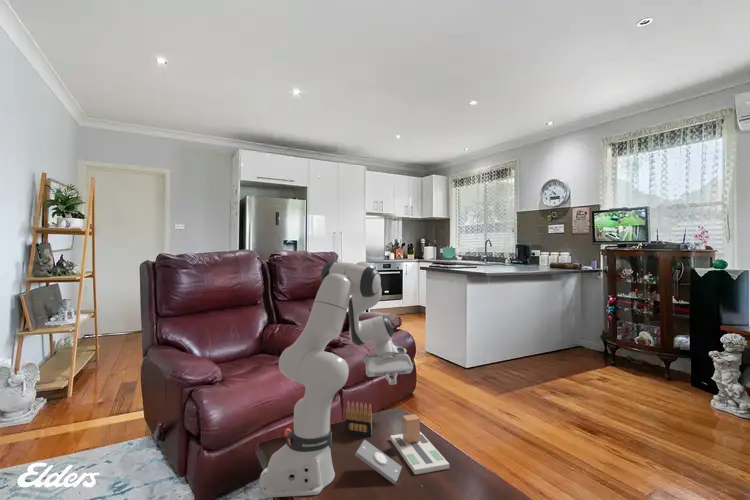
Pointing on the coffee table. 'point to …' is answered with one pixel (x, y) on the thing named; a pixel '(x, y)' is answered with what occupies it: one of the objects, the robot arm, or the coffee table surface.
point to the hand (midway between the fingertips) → (393, 383)
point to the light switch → (379, 461)
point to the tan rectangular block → (411, 428)
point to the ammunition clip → (358, 420)
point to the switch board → (420, 454)
